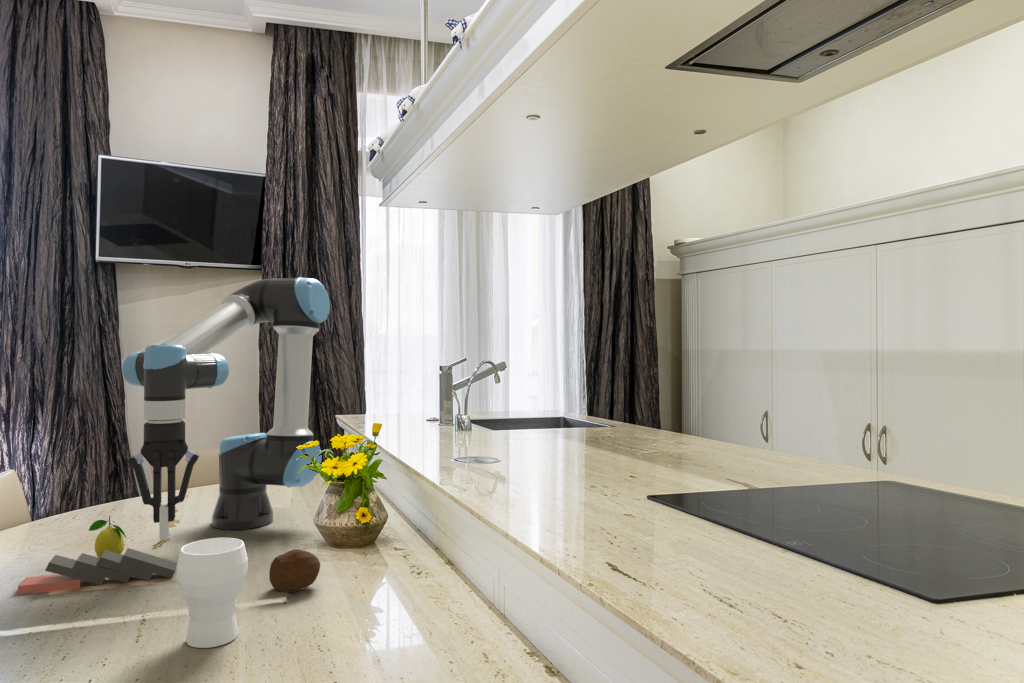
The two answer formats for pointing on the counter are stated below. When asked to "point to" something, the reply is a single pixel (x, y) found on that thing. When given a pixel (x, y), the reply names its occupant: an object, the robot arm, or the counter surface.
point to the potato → (293, 570)
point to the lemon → (108, 538)
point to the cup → (212, 588)
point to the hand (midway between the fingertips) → (164, 537)
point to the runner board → (119, 583)
